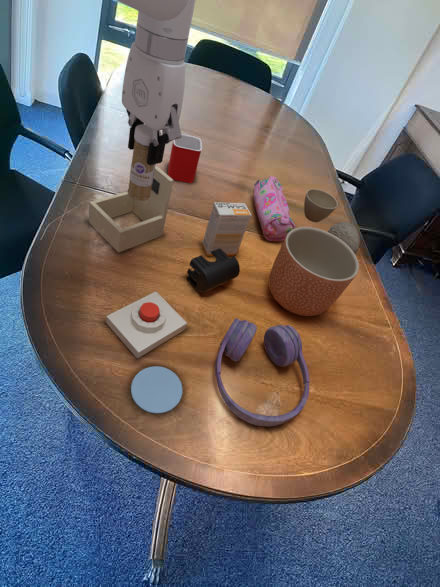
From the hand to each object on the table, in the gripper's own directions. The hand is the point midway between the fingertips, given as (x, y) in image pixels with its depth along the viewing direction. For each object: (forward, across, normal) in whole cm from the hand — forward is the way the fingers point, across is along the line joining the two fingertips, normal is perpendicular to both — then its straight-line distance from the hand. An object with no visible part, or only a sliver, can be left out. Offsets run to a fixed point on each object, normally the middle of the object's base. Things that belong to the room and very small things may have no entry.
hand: (145, 154), depth 70 cm
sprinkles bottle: (+9, 0, 0) cm, 9 cm away
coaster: (+26, +29, -16) cm, 42 cm away
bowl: (+25, +13, +60) cm, 66 cm away
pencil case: (+25, +7, +44) cm, 51 cm away
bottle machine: (+26, -8, +5) cm, 28 cm away
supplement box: (+26, +9, +21) cm, 34 cm away
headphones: (+26, +39, +1) cm, 47 cm away
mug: (+25, -23, +36) cm, 50 cm away
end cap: (+26, +16, +11) cm, 32 cm away
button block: (+26, +17, -9) cm, 32 cm away
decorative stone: (+25, +27, +51) cm, 63 cm away
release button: (+22, +17, -9) cm, 30 cm away
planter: (+26, +31, +26) cm, 48 cm away
